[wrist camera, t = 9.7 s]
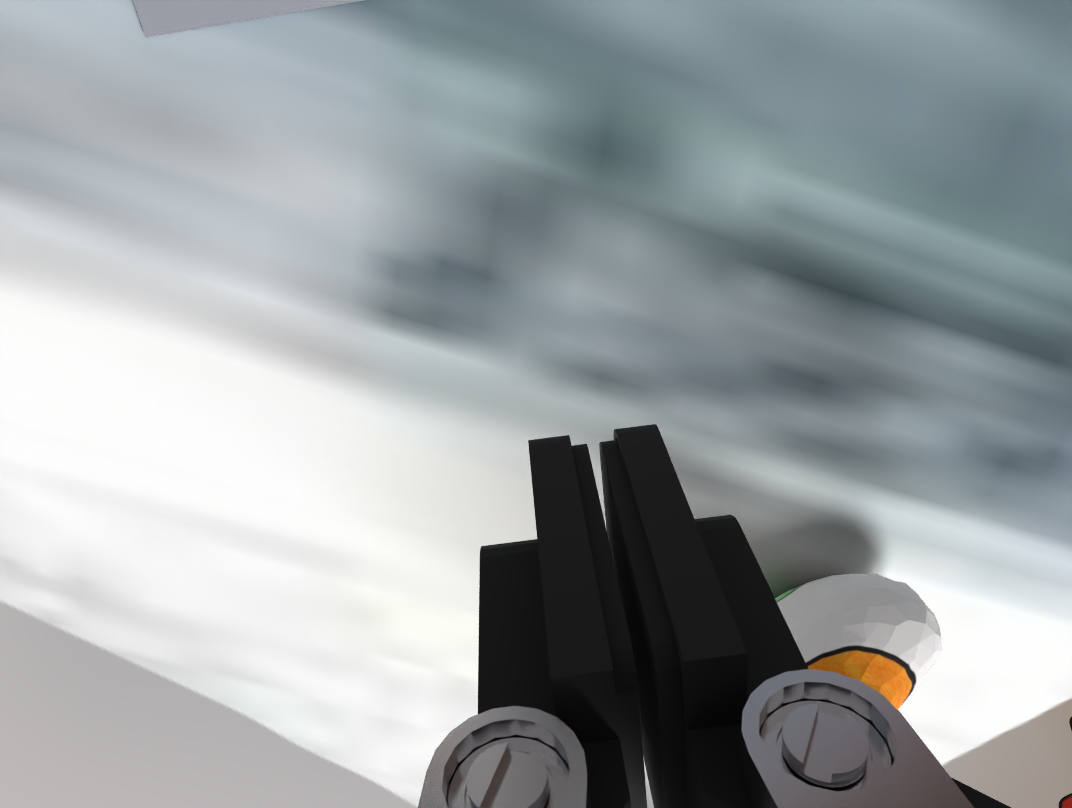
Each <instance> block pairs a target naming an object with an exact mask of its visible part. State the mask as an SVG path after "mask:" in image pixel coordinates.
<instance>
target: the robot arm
mask: <svg viewBox="0 0 1072 808" xmlns="http://www.w3.org/2000/svg"><path fill="white" fill-rule="evenodd" d="M528 442H529V453H530V464H531V474H532V485H533V496H534V507H535V518H536V528H537V539H536V540H528V541H520V542H512V543H504V544H496V545H488V546H482V547H481V549H480V592H479V669H478V715H475V716H473V717H470V718H469V719H467V720H466V721H465V722H463V723H462V724H461V725H459V726H458V727H456V728H455V729H454V730H452V731H451V732H450V733H449V734H448V736H447V737H446V738H445V739H444V740H443V742H442V743H441V744H440V745H439V747H438V748H437V749H436V750H435V753H434V755H433V758H432V760H431V762H430V765H429V767H428V770H427V772H426V776H425V780H424V784H423V789H422V793H421V797H420V801H419V805H418V808H647V801H646V787H645V773H644V761H645V766H646V771H647V775H648V780H649V785H650V790H651V795H652V800H653V805H654V808H1011V807H1009V806H1007V805H1005V804H1003V803H1001V802H999V801H997V800H995V799H993V798H991V797H989V796H987V795H985V794H983V793H981V792H979V791H977V790H975V789H973V788H971V787H969V786H967V785H965V784H963V783H961V782H959V781H957V780H955V779H953V778H951V777H950V776H949V775H948V773H947V772H946V771H945V769H944V768H943V767H942V766H941V764H940V763H939V762H938V760H937V759H936V758H935V757H934V755H933V754H932V753H931V751H930V750H929V749H928V748H927V746H926V745H925V744H924V742H923V741H922V740H921V739H920V737H919V736H918V735H917V734H916V732H915V731H914V730H913V728H912V727H911V726H910V725H909V723H908V722H907V721H906V719H905V718H904V717H903V716H902V714H901V713H900V712H899V711H898V710H897V709H896V708H895V707H894V706H893V705H892V704H891V703H890V702H889V701H888V700H887V699H886V698H885V697H884V696H883V695H882V694H880V693H879V692H877V691H875V690H874V689H872V688H871V687H869V686H867V685H866V684H864V683H862V682H861V681H859V680H856V679H853V678H850V677H847V676H844V675H842V674H839V673H836V672H830V671H822V670H813V669H808V667H807V665H806V663H805V660H804V658H803V656H802V654H801V652H800V650H799V648H798V646H797V644H796V642H795V640H794V637H793V635H792V633H791V631H790V629H789V627H788V625H787V623H786V621H785V619H784V617H783V614H782V612H781V610H780V608H779V606H778V604H777V602H776V600H775V598H774V596H773V594H772V591H771V589H770V587H769V585H768V583H767V581H766V579H765V577H764V575H763V573H762V571H761V568H760V566H759V564H758V562H757V560H756V558H755V556H754V554H753V552H752V550H751V548H750V545H749V543H748V541H747V539H746V537H745V535H744V533H743V531H742V529H741V527H740V525H739V523H738V521H737V520H736V518H735V517H734V516H732V515H725V516H718V517H710V518H702V519H694V517H693V515H692V512H691V510H690V507H689V505H688V502H687V500H686V497H685V494H684V492H683V489H682V487H681V484H680V482H679V479H678V477H677V474H676V472H675V469H674V467H673V464H672V462H671V459H670V457H669V454H668V452H667V449H666V447H665V444H664V442H663V439H662V437H661V434H660V431H659V429H658V427H657V425H655V424H653V425H646V426H638V427H630V428H622V429H614V441H606V442H600V460H601V471H602V483H603V494H604V505H605V517H606V527H605V522H604V518H603V513H602V509H601V504H600V500H599V495H598V491H597V486H596V482H595V477H594V473H593V468H592V464H591V460H590V455H589V451H588V446H587V444H582V445H575V446H571V441H570V437H569V435H567V436H559V437H551V438H543V439H535V440H529V441H528ZM606 528H607V531H606ZM643 756H644V760H643Z"/></svg>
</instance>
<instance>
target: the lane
mask: <svg viewBox="0 0 1072 808" xmlns="http://www.w3.org/2000/svg"><path fill="white" fill-rule="evenodd" d="M357 1H363V0H133V2H134V5H135V8H136V11H137V14H138V17H139V20H140V22H141V25H142V28H143V31H144V34H145V37H150V36H156V35H161V34H167V33H173V32H179V31H185V30H191V29H197V28H203V27H209V26H215V25H221V24H227V23H233V22H239V21H244V20H250V19H256V18H262V17H268V16H274V15H280V14H286V13H292V12H298V11H304V10H310V9H316V8H322V7H327V6H333V5H339V4H345V3H351V2H357Z"/></svg>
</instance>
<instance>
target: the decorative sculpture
mask: <svg viewBox="0 0 1072 808" xmlns="http://www.w3.org/2000/svg"><path fill="white" fill-rule="evenodd" d="M775 600H776V602H777V604H778V606H779V608H780V610H781V612H782V614H783V617H784V619H785V621H786V623H787V625H788V627H789V629H790V631H791V633H792V635H793V637H794V640H795V642H796V644H797V646H798V648H799V650H800V652H801V654H802V656H803V658H804V660H805V663H806V665H807V667H808V669H813V670H822V671H830V672H836V673H839V674H842V675H844V676H847V677H850V678H853V679H856V680H859V681H861V682H862V683H864V684H866V685H867V686H869V687H871V688H872V689H874V690H875V691H877V692H879V693H880V694H882V695H883V696H884V697H885V698H886V699H887V700H888V701H889V702H890V703H891V704H892V705H893V706H894V707H895V708H896V709H898V708H899V707H900V706H901V705H902V704H903V703H904V701H905V700H906V699H907V698H908V696H909V695H910V694H911V692H912V691H913V690H914V689H915V688H916V687H917V686H918V685H919V683H920V682H921V681H922V680H923V679H924V678H925V676H926V675H927V674H928V673H929V672H930V670H931V669H932V667H933V666H934V664H935V663H936V661H937V660H938V658H939V657H940V654H941V651H942V648H941V634H940V629H939V625H938V622H937V620H936V617H935V615H934V613H933V612H932V611H931V610H930V609H929V608H928V607H927V606H926V605H925V603H924V602H923V601H922V599H921V598H920V597H919V595H918V594H917V593H916V592H915V591H914V590H913V589H911V588H910V587H909V586H908V585H907V584H906V583H902V582H897V581H893V580H890V579H888V578H885V577H883V576H880V575H878V574H843V575H832V576H828V577H825V578H821V579H817V580H814V581H811V582H808V583H806V584H804V585H801V586H799V587H796V588H794V589H791V590H789V591H787V592H785V593H783V594H782V595H780V596H778V597H777V598H775ZM1069 722H1070V727H1071V730H1072V717H1071V718H1070V721H1069ZM1059 808H1072V794H1069V795H1067V796H1065V797H1063V798H1062V799H1061V800H1060V802H1059Z"/></svg>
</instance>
